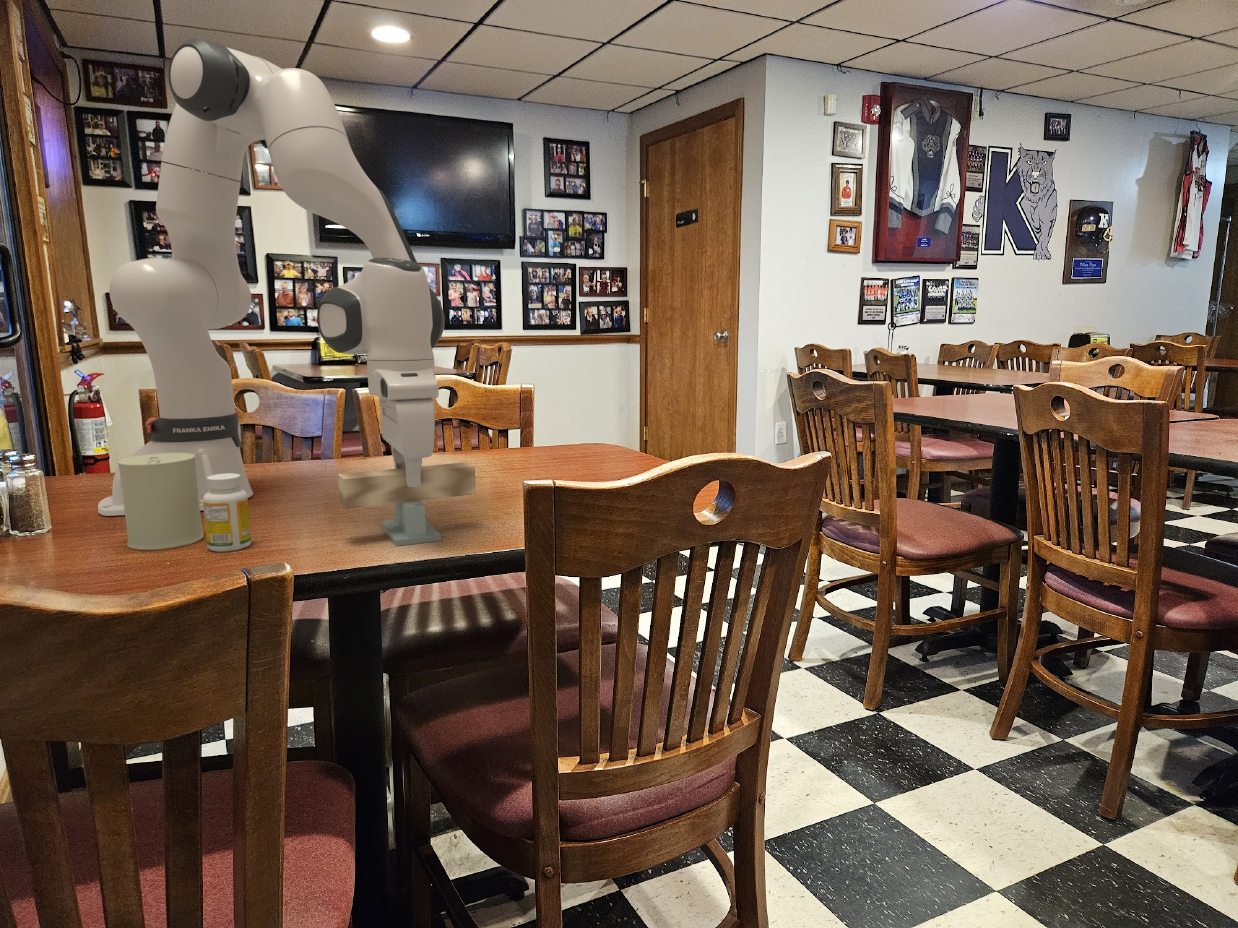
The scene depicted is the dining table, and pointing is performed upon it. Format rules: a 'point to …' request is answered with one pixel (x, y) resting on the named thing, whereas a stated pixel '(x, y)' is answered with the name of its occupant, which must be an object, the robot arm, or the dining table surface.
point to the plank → (393, 489)
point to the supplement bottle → (226, 513)
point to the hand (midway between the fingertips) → (407, 480)
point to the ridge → (410, 525)
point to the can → (160, 500)
